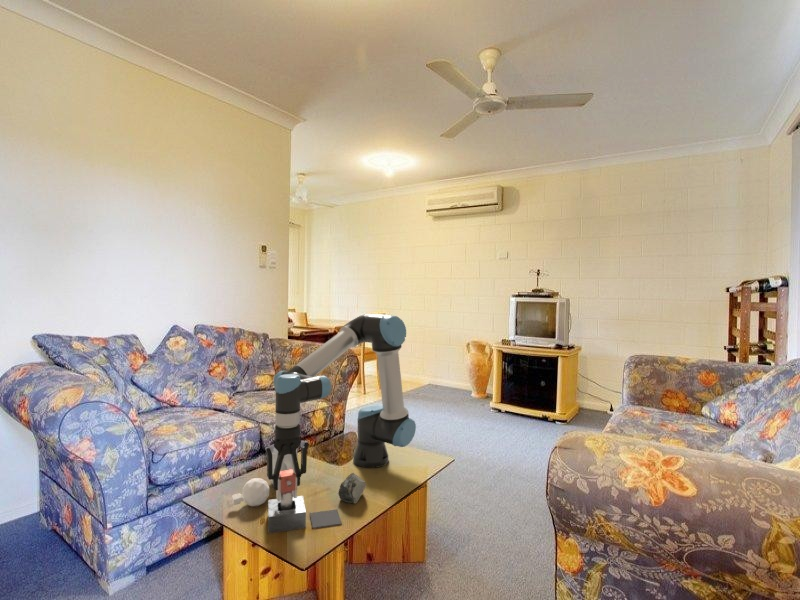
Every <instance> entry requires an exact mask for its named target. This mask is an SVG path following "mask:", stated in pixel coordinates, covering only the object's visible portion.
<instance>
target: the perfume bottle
mask: <svg viewBox="0 0 800 600" xmlns="http://www.w3.org/2000/svg"><path fill="white" fill-rule="evenodd" d="M241 490H242V491H241V493H239V492H238V493H235V494H232V495H231V497H232V504H233V506H236V505H238V504H239V505H240V504H242V502H244V504H246V505H247V506H250V507H259V506H261V505H263V504H264V503H266V501H267V499H268V498H269V496H270V485H269V483H268V482H267V481H266V480H265V479H263V478H261V477H260V478H259V477H256V478H255V477H253V478H251V479H249V480H247V482H246V483H245V484H244V486H243V487H242V489H241Z"/></svg>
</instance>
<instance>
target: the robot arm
mask: <svg viewBox="0 0 800 600" xmlns="http://www.w3.org/2000/svg"><path fill="white" fill-rule="evenodd" d="M406 337H407V327H406V325H405V322H404V321H403V319H402V318H400V317H399V316H397V315H393V314H383V313H382V314H379V313H378V314H377V313H365V314H362V315H359V316H357V317H355V318H353V319H352V320H349V322H347V323H345V324H344V325H343V326H341V327H340V328H339V332H338V333H337V334H335V335H333V336H332V337H331V338H330V339H329V340H327V341H325V343H323V344H322V345H320V346H319V347H318V348H317V349H315V350H314V351H313V352H312V353H310V354H309V355H307V356H306V357H304V359H302V360H301V361H300V362H298V363H297V364H295V365H294V366H292V368H290V369H289V370H287V369H286V370H281V371H278V372H277V373H276V374H275V376H274V377H273V380H272V381H273V386H274V388H275V389H274V391H275V421H274V423H275V426H274V441H273V444H271V445H266V446H264V450H265V452H266V477H267V479H268V480H270V481H271V479H272V480H273V484H272V488H273V490H274V491H275V492H276V496H275V499H277V500H278V502H279V501H280V500H281V480H280V478H279V474H280V470H281V466H282V461H283V459H284V455H287V454H291V456H292V461H293V465H294V470H295V474H296V480H295V490H294V491H293V492H292V497H294V498H297V496H298V487H299V486H300V485H301V478H302V475H303V474H306V473H307V460H308V449H309V445H310V443H309V442H308V441H307V440H306V439H305V440H302V439H301V438H300V435H301V434H300V432H301V426H300V422H301V404H303V403H309V402H312V401H317V400H321V399H324V398H326V397H328V396H329V395H330V394H331V393H332V383H331V380H330V378H329V377H327V376H326V375H319V373H321V372H322V371H323V370H325V369H326V368H327V367H328V366H330V365H331V364H332V363H333V362H334V361H336V360H338V358H339V357H341V356H342V355H344V354H345V353H346V352H348V350H349V349H351V348H356V347H357V346H359V345H360V344H363V343H370V344H371V348H372V352H374V353H375V354H376V358H377V367H378V376H379V384H380V385H379V386H380V395H381V401H382V402H381V404H382V405H370V406H366V407H362V408H360V409H359V411H358V413H357V444H356V447H355V450H354V452H353V456H352V457H353V458H352V461H353V464H354V465H356V466H358V467H361V468H366V469H367V468H368V469H372V468H373V469H375V468H380V467H383V466H385V465H388V462H389V453H388V450H387V446H386V443H387V444H389V445H391V446H394V447H399V448H403V447H404V448H405V447H407V446H408V445H409V444H410V443H411V442H412V441H413V439H414V437H415V434H416V431H417V429H416V428H417V425H416V422H415V420H414V419H413V418H410V416H409V415H410V414H409V410H408V409H407V408H406V407H405V403H404V395H403V393H404V392H403V385H402V374H401V373H402V372H401V364H400V357H399V355H400V354H399V351H400V350H401V349H402V345H403V344H404V343H405V341H406ZM299 446H300V447H301V448H300V449H301V451H300V465H299V460H298V453H297V454H296V450H297V451H298V448H299ZM274 448H276V450H277V451H278V457H277V461H276V465H275V469H274V474H273V471H272V453H273V451H274Z"/></svg>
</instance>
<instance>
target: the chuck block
mask: <svg viewBox="0 0 800 600" xmlns="http://www.w3.org/2000/svg"><path fill="white" fill-rule="evenodd" d="M267 503H268V505H267V506H268V507H267V508H268V509H267V511H268V512H267V513H268V514H267V521H268V526H267V529H268V533H267V534H274V533H280V532H281V533H282V532H288V531H294V530H303V529H306V528H307V526H306V525H307V524H306V523H307V522H306V521H307V511H306V505H305V499H304V495H297V498H294V496H292V509H291V510H283V511H281V500H280V501H279V502H278V500H277V498H274V499H273V498H272V499H268V501H267Z"/></svg>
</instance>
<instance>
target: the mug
mask: <svg viewBox="0 0 800 600" xmlns="http://www.w3.org/2000/svg"><path fill="white" fill-rule="evenodd" d="M296 454H297V455H298V449H297V450H296ZM277 457H278V451H277V450H276V448H274V451H273V453H272V471H273V474H274V469H275V465H276V461H277ZM290 469H292V470H293V471H294V473H295V470H294V465H293V461H292V456H291V454H287V455H284V459H283V461H282V466H281V470H280V471H285V470H290ZM270 482H271V484H272V485H273V480H272V479H271V480H270Z"/></svg>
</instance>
